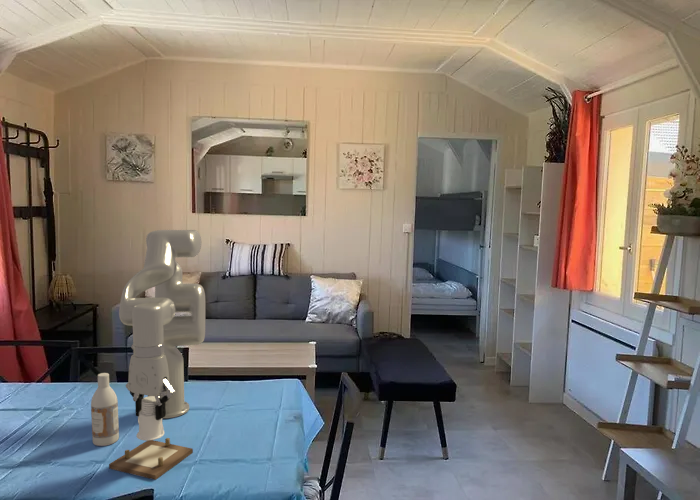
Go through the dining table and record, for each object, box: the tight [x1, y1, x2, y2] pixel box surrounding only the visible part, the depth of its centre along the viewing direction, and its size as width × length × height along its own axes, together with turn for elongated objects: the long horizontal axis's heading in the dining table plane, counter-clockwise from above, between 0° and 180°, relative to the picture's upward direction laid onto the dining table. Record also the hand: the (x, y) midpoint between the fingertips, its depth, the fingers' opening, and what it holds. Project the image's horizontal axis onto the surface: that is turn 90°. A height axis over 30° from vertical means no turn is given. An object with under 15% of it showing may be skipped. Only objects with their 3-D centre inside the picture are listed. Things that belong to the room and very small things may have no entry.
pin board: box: [108, 437, 194, 481], centre depth 143 cm, size 15×15×3 cm
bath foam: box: [90, 372, 120, 447], centre depth 153 cm, size 7×7×20 cm
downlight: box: [136, 396, 165, 442], centre depth 142 cm, size 8×7×10 cm
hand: (150, 415), depth 142 cm, fingers closed on downlight, 5 cm apart
